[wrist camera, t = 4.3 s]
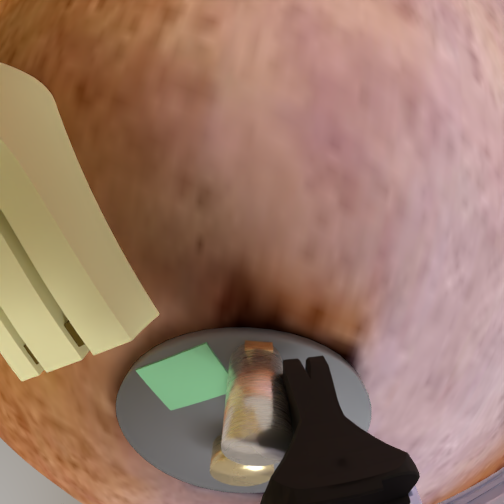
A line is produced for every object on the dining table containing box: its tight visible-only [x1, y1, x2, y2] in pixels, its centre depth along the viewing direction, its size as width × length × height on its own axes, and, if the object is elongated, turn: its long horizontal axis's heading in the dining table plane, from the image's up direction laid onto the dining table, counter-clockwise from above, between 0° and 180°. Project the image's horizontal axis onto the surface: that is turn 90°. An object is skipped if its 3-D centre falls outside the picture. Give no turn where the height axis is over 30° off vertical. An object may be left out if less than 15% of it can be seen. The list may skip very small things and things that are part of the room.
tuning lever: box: [210, 340, 293, 486], centre depth 12 cm, size 10×4×5 cm, turn 174°
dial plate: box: [116, 327, 371, 493], centre depth 16 cm, size 16×16×1 cm
